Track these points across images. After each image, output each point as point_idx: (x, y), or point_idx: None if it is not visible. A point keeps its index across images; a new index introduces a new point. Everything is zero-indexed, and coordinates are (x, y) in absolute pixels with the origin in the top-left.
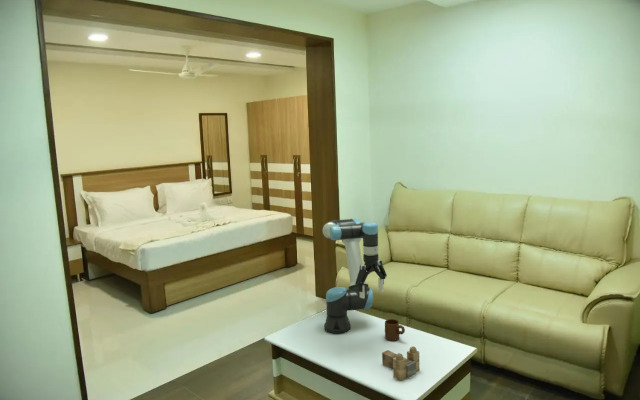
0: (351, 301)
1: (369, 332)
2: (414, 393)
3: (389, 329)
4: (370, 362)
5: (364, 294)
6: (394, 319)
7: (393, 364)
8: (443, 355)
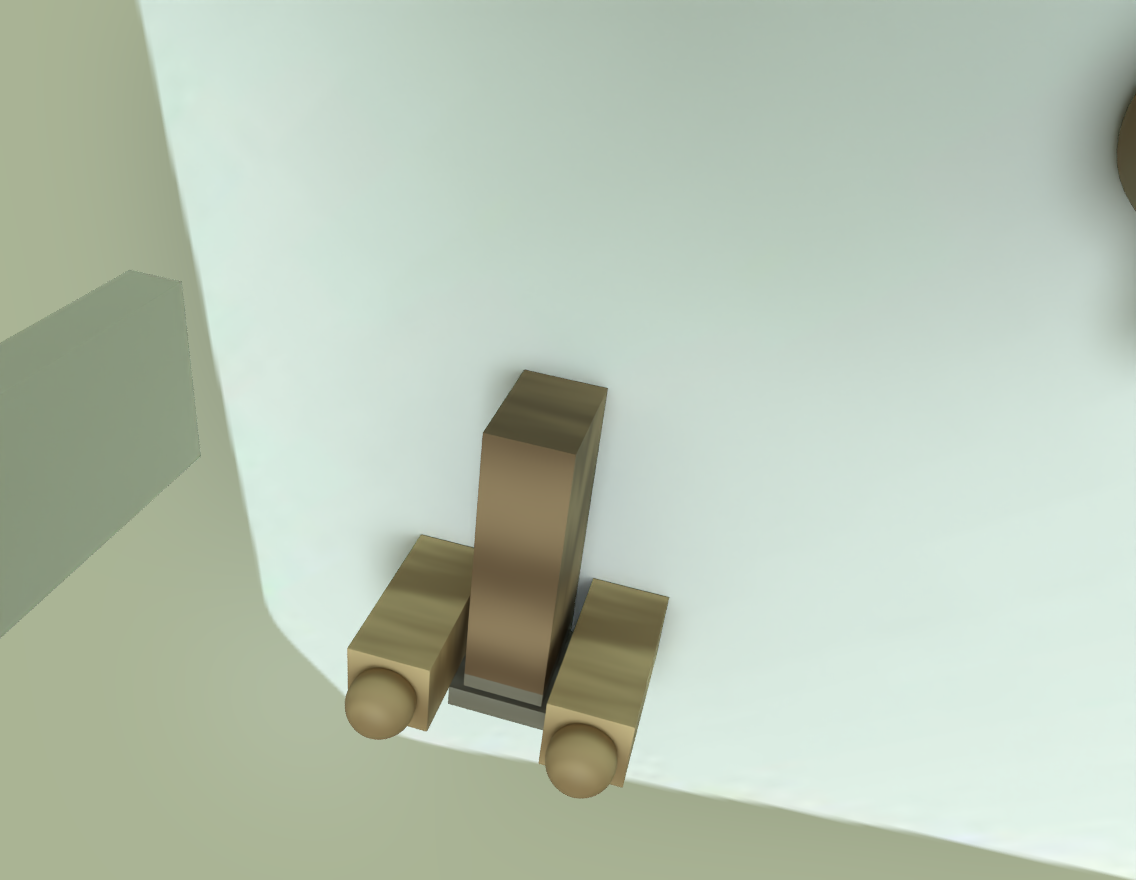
0: None
1: None
2: None
3: None
4: (476, 251)
5: (109, 536)
6: None
7: (372, 612)
8: (1039, 744)
